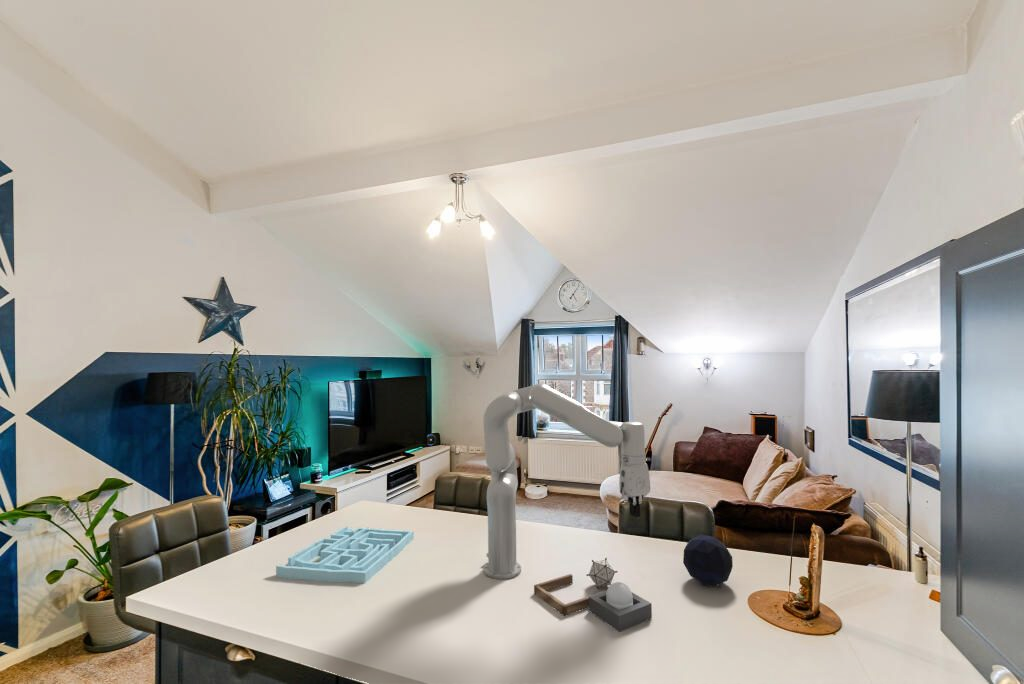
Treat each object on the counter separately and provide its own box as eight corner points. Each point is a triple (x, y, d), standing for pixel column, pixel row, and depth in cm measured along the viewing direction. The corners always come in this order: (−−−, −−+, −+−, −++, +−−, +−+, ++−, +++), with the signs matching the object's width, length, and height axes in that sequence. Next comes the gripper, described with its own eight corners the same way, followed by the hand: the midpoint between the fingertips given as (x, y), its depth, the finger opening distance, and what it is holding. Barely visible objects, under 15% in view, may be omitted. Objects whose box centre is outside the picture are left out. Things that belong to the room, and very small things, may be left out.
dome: (601, 608, 129) (600, 581, 129) (620, 600, 133) (619, 575, 133) (619, 620, 123) (618, 592, 123) (638, 612, 126) (638, 585, 127)
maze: (340, 534, 192) (340, 525, 193) (415, 539, 186) (415, 530, 186) (273, 578, 153) (273, 566, 153) (364, 586, 147) (364, 574, 147)
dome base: (588, 611, 130) (588, 596, 130) (620, 599, 136) (620, 585, 136) (619, 631, 119) (619, 616, 120) (651, 618, 126) (651, 603, 126)
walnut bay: (534, 593, 140) (534, 585, 140) (570, 582, 147) (570, 573, 147) (564, 616, 127) (564, 607, 127) (602, 602, 134) (602, 593, 134)
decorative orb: (667, 556, 153) (684, 528, 145) (704, 549, 158) (722, 523, 150) (691, 598, 142) (711, 571, 134) (730, 591, 147) (751, 564, 139)
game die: (607, 601, 142) (617, 583, 137) (581, 588, 144) (590, 570, 139) (612, 575, 150) (622, 558, 144) (587, 564, 152) (596, 546, 146)
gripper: (624, 464, 146) (626, 523, 145) (658, 459, 154) (659, 515, 153) (608, 460, 153) (610, 516, 152) (641, 455, 160) (642, 509, 159)
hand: (635, 515), depth 152 cm, fingers closed
